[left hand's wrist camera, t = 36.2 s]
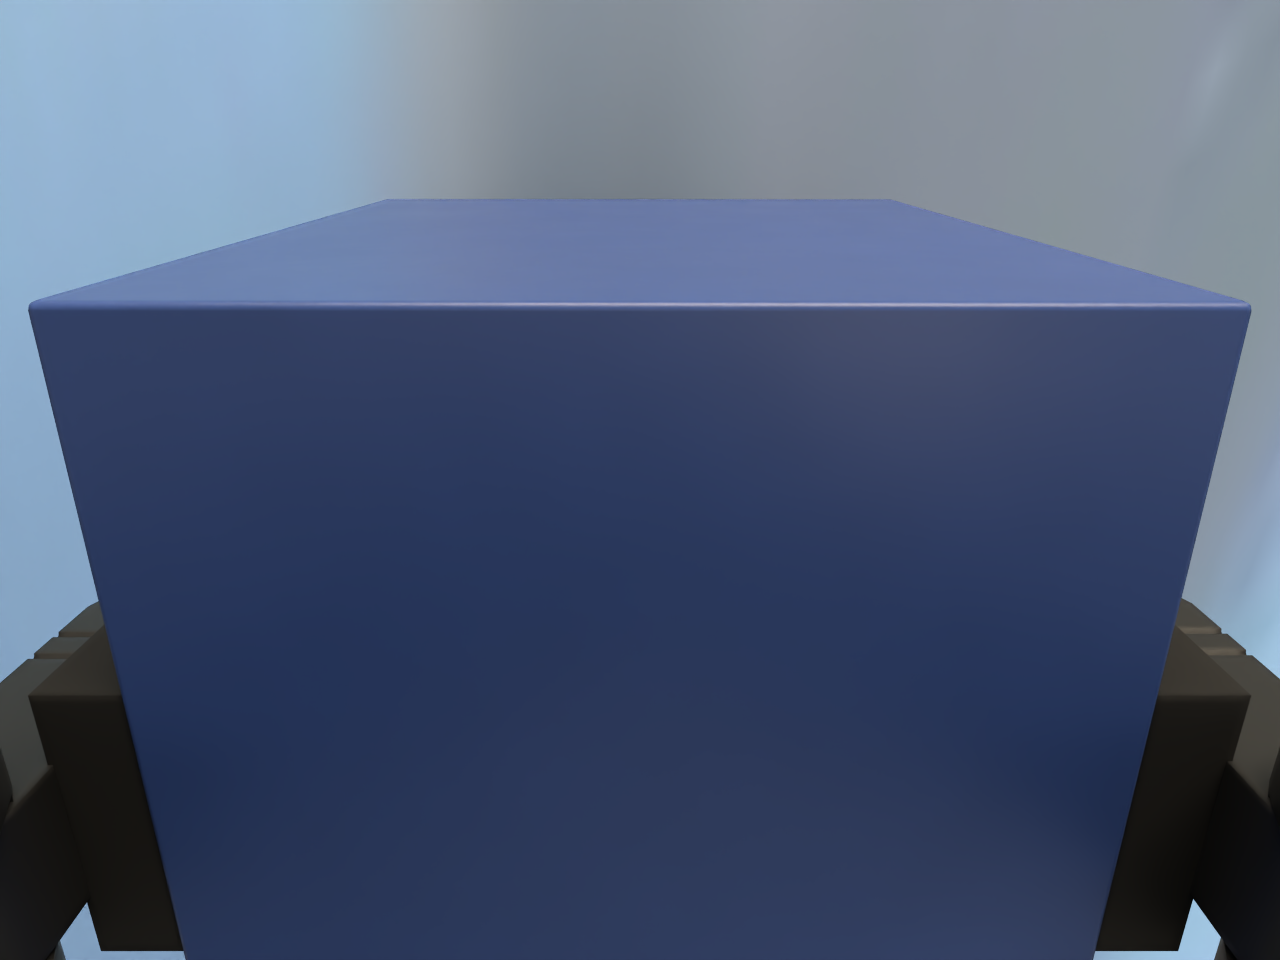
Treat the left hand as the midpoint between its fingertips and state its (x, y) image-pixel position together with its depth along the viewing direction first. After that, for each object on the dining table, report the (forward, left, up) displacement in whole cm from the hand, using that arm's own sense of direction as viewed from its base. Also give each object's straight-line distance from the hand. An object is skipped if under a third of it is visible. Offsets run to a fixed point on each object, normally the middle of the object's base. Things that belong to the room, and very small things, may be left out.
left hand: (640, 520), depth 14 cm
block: (0, 0, -3) cm, 3 cm away
